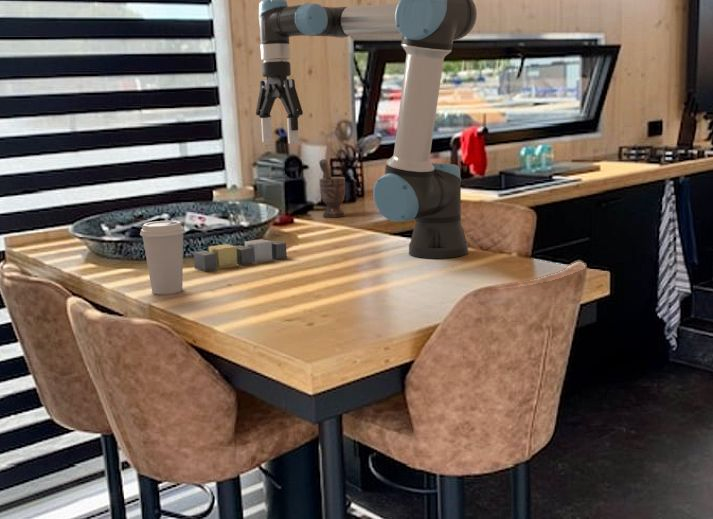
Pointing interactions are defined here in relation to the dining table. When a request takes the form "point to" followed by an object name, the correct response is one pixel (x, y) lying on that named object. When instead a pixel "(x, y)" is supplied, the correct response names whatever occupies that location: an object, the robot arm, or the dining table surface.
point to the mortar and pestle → (331, 191)
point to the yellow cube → (224, 255)
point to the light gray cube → (260, 250)
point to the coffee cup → (164, 255)
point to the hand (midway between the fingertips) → (280, 142)
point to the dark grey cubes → (244, 256)
